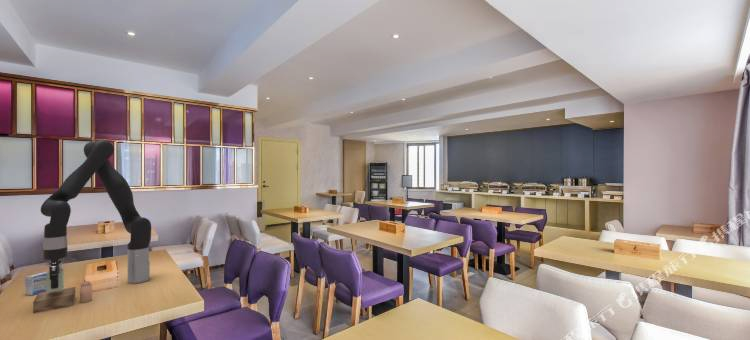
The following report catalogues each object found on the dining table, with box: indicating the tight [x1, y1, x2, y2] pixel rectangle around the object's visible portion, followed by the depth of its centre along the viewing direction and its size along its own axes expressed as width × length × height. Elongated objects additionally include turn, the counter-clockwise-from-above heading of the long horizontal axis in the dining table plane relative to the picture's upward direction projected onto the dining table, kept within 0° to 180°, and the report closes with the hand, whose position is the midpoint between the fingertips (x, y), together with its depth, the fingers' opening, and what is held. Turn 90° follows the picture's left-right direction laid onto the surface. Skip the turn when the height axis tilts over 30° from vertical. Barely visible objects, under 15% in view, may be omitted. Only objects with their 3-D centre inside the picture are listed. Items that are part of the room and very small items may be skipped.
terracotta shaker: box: [79, 280, 93, 304], centre depth 147 cm, size 4×4×9 cm
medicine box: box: [24, 271, 48, 296], centre depth 157 cm, size 8×4×9 cm, turn 168°
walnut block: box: [32, 286, 76, 314], centre depth 143 cm, size 12×12×5 cm
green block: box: [45, 268, 65, 293], centre depth 143 cm, size 5×5×8 cm
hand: (55, 286), depth 143 cm, fingers closed on green block, 5 cm apart
